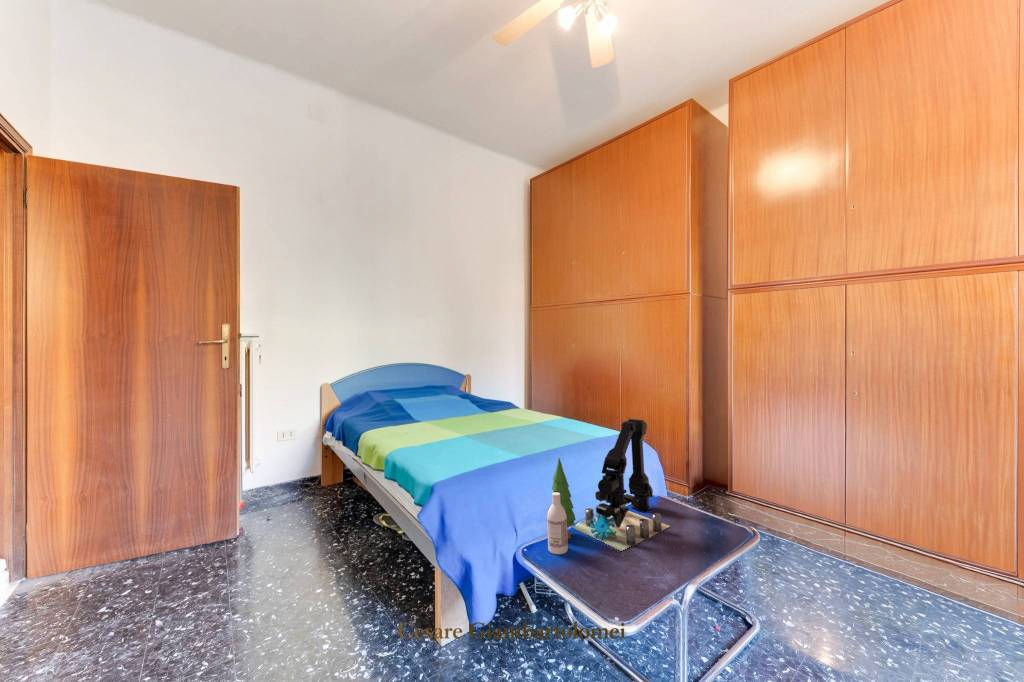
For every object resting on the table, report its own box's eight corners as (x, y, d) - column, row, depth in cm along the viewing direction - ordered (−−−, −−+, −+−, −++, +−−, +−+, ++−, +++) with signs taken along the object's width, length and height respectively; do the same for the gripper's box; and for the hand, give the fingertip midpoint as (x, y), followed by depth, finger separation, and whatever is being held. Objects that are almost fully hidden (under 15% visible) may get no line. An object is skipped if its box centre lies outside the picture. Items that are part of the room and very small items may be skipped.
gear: (584, 529, 151) (598, 507, 155) (591, 536, 154) (605, 514, 157) (605, 544, 142) (620, 520, 145) (613, 551, 145) (627, 528, 148)
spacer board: (620, 508, 175) (620, 507, 175) (669, 527, 155) (669, 526, 155) (572, 528, 157) (572, 527, 157) (621, 552, 138) (621, 550, 138)
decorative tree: (557, 528, 157) (555, 453, 158) (580, 533, 153) (577, 455, 153) (548, 539, 148) (545, 459, 149) (572, 544, 144) (569, 462, 145)
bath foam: (569, 554, 137) (567, 496, 138) (549, 555, 137) (547, 497, 137) (565, 544, 144) (563, 489, 144) (546, 545, 144) (545, 490, 144)
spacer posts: (615, 512, 170) (614, 498, 171) (663, 530, 152) (662, 515, 152) (584, 524, 159) (583, 509, 159) (632, 546, 140) (631, 529, 141)
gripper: (615, 476, 166) (617, 513, 166) (584, 487, 155) (586, 527, 155) (637, 483, 157) (639, 522, 157) (606, 495, 146) (608, 537, 146)
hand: (618, 527), depth 154 cm, fingers closed
